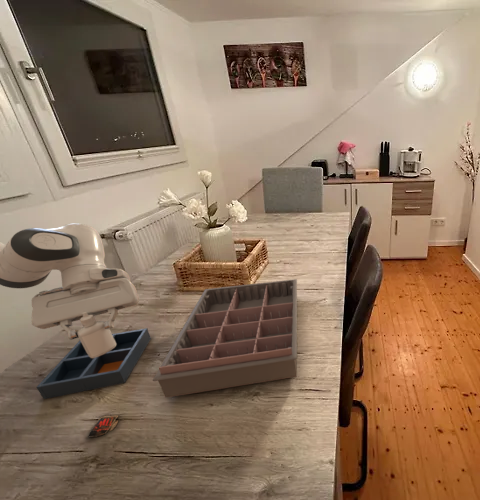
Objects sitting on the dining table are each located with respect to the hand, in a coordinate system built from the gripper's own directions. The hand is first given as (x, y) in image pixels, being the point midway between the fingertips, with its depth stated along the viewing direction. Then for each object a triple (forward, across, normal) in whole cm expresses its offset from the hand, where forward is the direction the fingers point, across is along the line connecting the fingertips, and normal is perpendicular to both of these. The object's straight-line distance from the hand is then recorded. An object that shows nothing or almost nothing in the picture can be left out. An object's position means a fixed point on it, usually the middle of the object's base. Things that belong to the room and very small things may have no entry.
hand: (92, 333), depth 69 cm
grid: (+6, -3, +14) cm, 15 cm away
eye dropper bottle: (+4, 0, +6) cm, 7 cm away
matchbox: (+22, +1, -2) cm, 22 cm away
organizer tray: (+13, +34, +7) cm, 37 cm away
